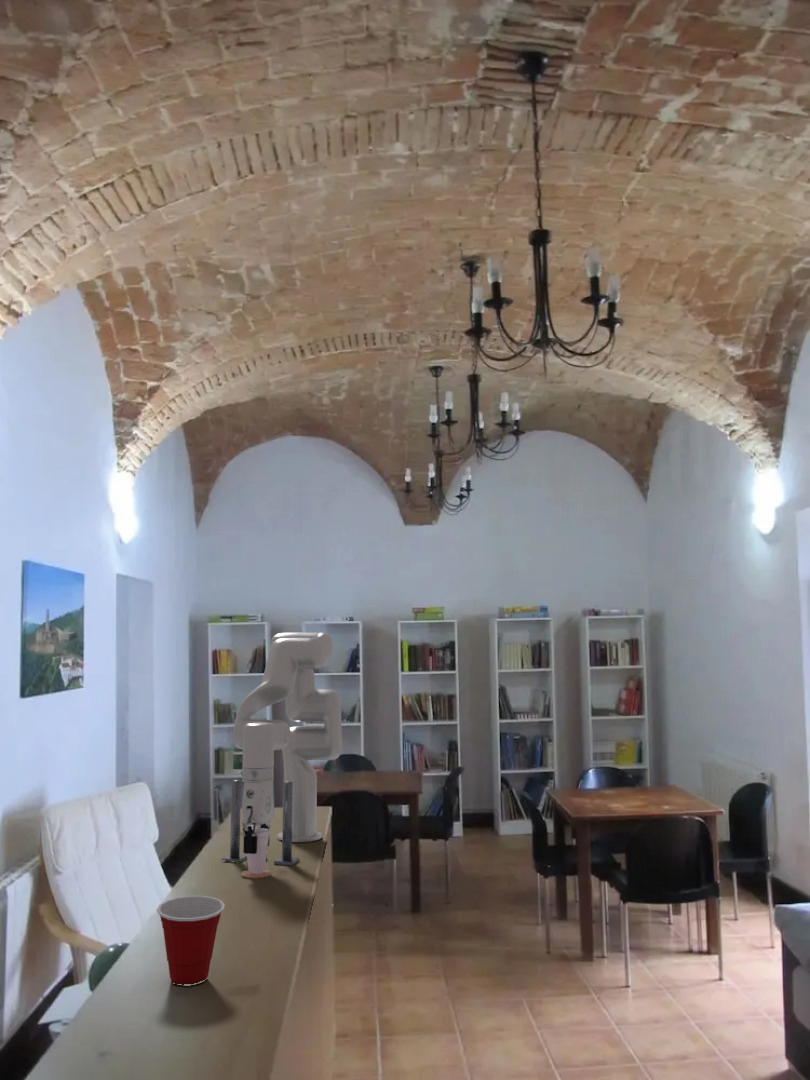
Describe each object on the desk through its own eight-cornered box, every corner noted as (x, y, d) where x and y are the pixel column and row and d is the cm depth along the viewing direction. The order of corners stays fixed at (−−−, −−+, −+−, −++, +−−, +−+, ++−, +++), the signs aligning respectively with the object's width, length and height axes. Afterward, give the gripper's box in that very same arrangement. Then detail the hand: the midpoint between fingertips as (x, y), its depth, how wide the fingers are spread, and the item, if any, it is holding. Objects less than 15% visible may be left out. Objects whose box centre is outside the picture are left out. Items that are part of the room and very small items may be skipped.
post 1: (229, 857, 240) (231, 778, 242) (247, 858, 239) (249, 779, 241) (221, 861, 235) (223, 781, 238) (240, 862, 234) (241, 781, 237)
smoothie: (266, 875, 218) (267, 814, 220) (239, 874, 219) (240, 814, 220) (272, 869, 224) (273, 810, 226) (246, 868, 225) (248, 809, 227)
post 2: (280, 860, 237) (282, 780, 239) (299, 861, 236) (300, 780, 238) (274, 864, 232) (275, 783, 235) (292, 865, 231) (294, 783, 234)
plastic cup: (155, 996, 143) (158, 915, 145) (153, 973, 153) (156, 898, 155) (226, 989, 146) (228, 910, 148) (220, 967, 156) (221, 893, 158)
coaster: (247, 871, 225) (247, 868, 225) (274, 872, 224) (274, 869, 224) (236, 877, 218) (236, 875, 218) (264, 879, 217) (264, 876, 217)
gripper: (259, 779, 215) (257, 858, 213) (284, 770, 232) (283, 843, 229) (229, 778, 216) (227, 856, 214) (256, 769, 233) (255, 841, 231)
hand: (256, 849), depth 222 cm, fingers open, 7 cm apart
